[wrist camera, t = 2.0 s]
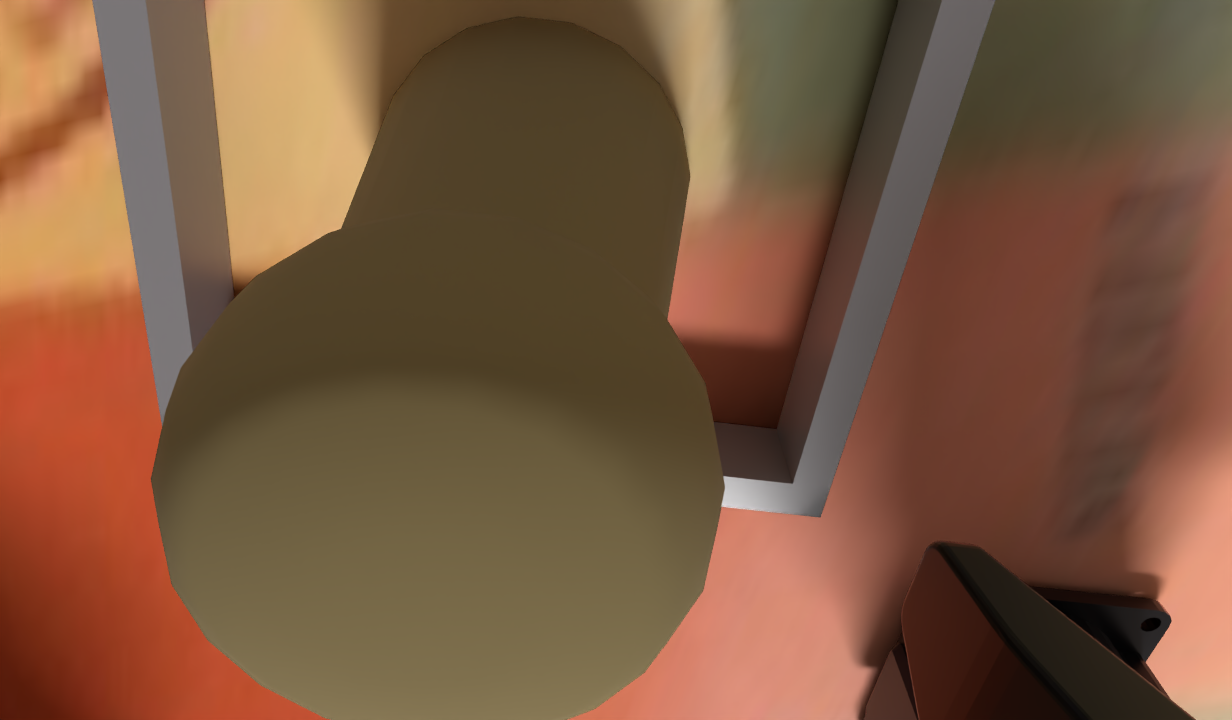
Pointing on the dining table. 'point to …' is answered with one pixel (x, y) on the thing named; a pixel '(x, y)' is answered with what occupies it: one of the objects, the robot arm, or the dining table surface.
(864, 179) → the open gray frame
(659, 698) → the dining table surface
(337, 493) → the olive game pawn
